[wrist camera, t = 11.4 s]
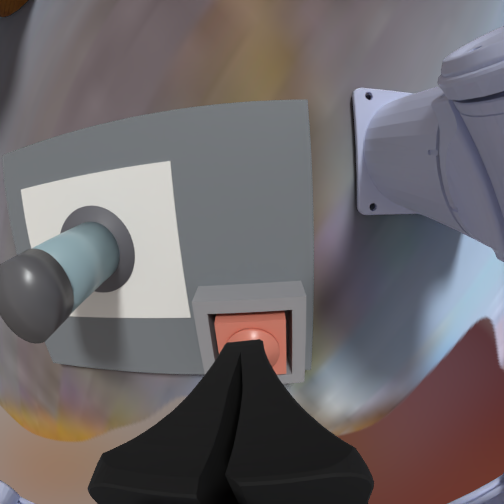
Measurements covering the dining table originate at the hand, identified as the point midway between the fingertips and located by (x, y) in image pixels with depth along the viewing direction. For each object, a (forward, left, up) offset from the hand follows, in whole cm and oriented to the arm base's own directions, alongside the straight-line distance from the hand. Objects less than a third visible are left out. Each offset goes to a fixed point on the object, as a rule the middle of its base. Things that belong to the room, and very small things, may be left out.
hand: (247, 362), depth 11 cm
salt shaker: (+10, -2, -8) cm, 13 cm away
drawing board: (+7, -1, -10) cm, 12 cm away
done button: (0, +4, -8) cm, 9 cm away
